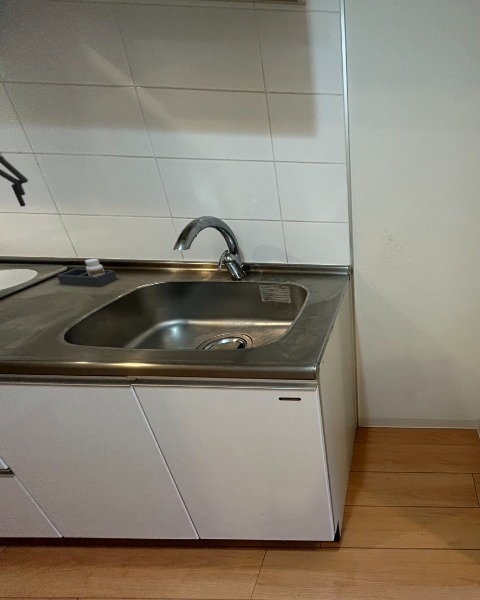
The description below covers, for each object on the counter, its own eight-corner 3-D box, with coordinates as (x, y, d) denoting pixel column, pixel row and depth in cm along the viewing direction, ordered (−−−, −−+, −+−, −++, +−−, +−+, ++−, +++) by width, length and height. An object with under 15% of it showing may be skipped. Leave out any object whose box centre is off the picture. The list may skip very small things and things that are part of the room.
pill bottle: (93, 283, 110) (85, 263, 107) (89, 280, 112) (81, 260, 109) (109, 280, 113) (101, 260, 110) (105, 276, 115) (97, 257, 112)
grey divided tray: (100, 286, 109) (96, 277, 108) (60, 284, 109) (56, 275, 107) (117, 279, 116) (113, 270, 114) (79, 276, 115) (75, 268, 114)
